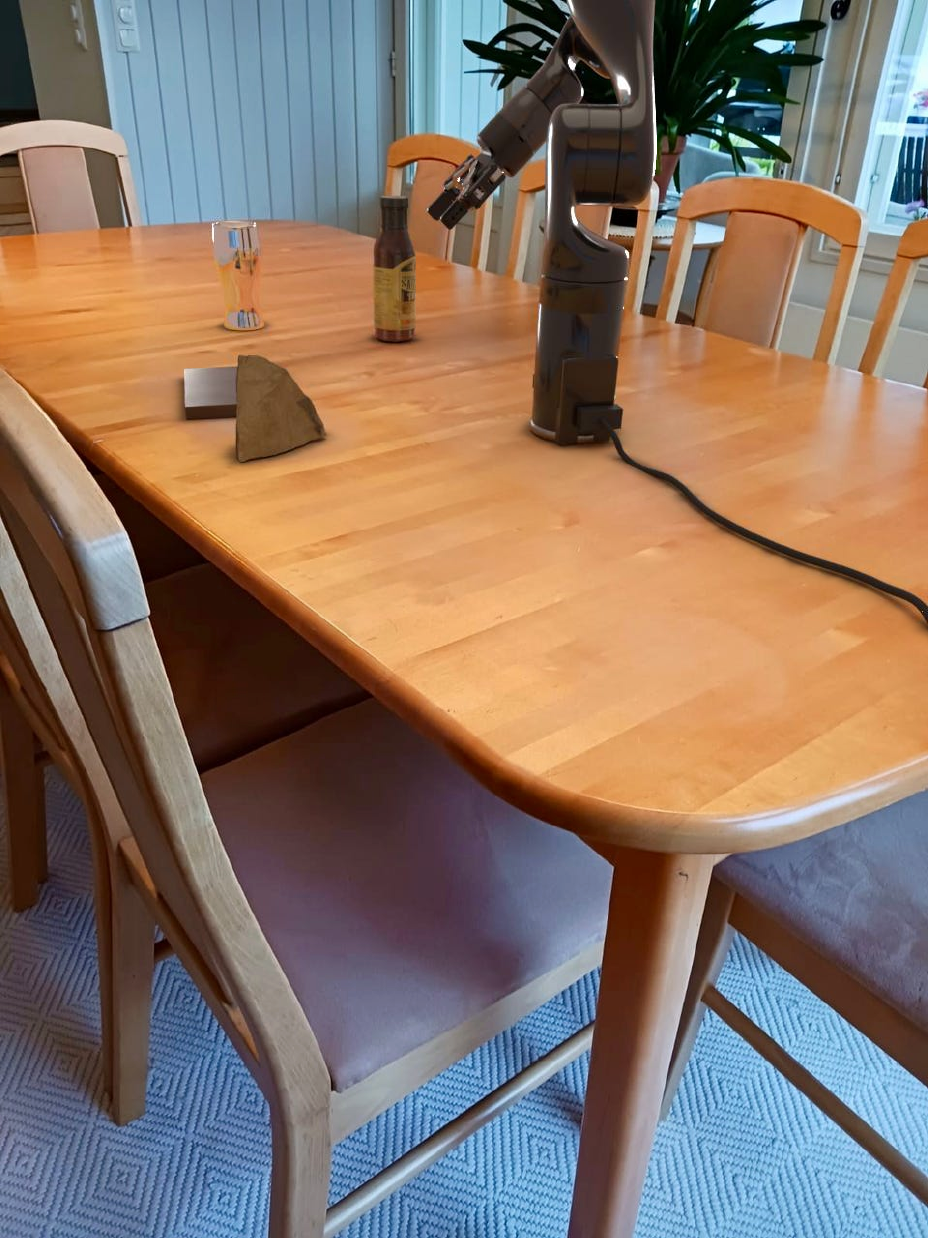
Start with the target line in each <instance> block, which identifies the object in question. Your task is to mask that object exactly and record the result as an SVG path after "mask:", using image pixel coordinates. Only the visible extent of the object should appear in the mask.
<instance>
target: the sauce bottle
mask: <svg viewBox="0 0 928 1238" xmlns="http://www.w3.org/2000/svg"><path fill="white" fill-rule="evenodd" d="M379 207H380V216H381V217H380V219H381V220H380V229H381V231H380V232H379V234H378V237H377V238H376V240H375V242H374V245H373V265H372V268H373V269H372V271H373V272H372V273H373V277H372V278H373V325H374V326H373V327H374V330H375V331H374V334H375V337H376V339H378V340H380V341H383V342H394V343H398V342H405V341H406V342H407V341H411V340H413V338H415V329H416V303H417V301H416V297H417V296H416V294H417V293H416V291H417V290H416V286H417V285H416V282H417V281H416V280H417V278H416V277H417V276H416V275H417V274H416V269H417V268H416V264H417V263H416V262H417V259H416V257H417V256H416V251H415V249H414V246H413V243H412V240H411V237H410V234H409V230H408V228H409V227H408V209H409V198H408V196H404V195H381V196H380V197H379Z"/></svg>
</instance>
